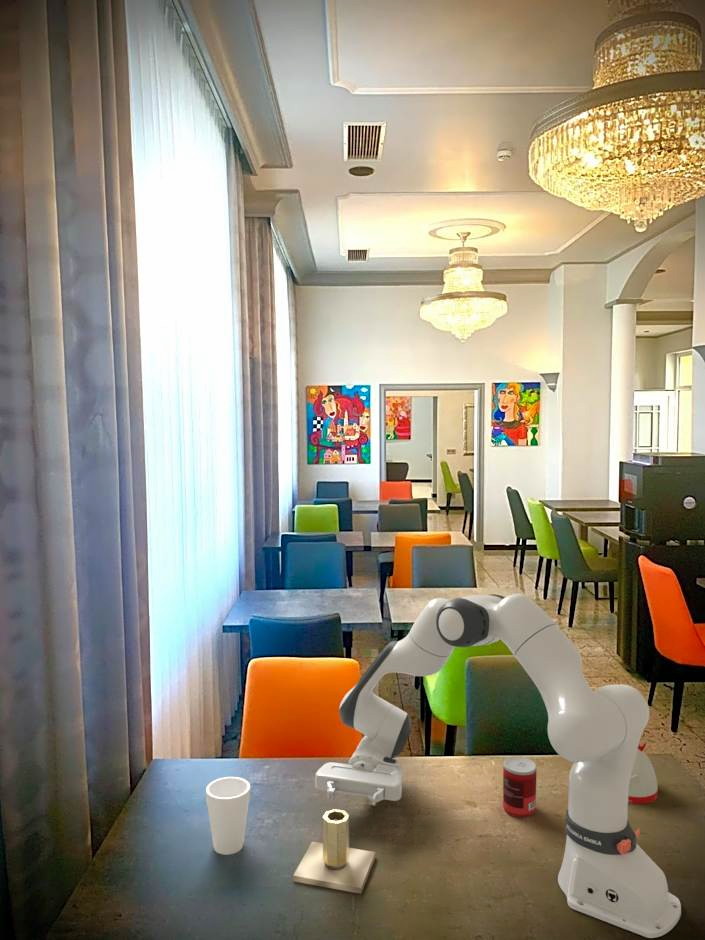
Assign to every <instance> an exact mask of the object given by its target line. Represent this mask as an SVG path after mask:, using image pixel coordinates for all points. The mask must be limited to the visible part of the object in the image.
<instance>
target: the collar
mask: <svg viewBox="0 0 705 940" xmlns="http://www.w3.org/2000/svg"><path fill="white" fill-rule="evenodd" d="M334 819H337V820H338V821H334ZM322 843H323V861H324V862H325V863H326V864H327V865H329V866H335V867H338V866H341V865H344V864H346V863H347V861H348V859H349V848H350V815H349V813H348V812H346V811H345V810H343V809H342V810H341V809H338V808H337V809H336V808H334V809H333V808H332V809H331V810H326V811H325V813H323V816H322Z"/></svg>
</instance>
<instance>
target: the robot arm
mask: <svg viewBox="0 0 705 940" xmlns="http://www.w3.org/2000/svg"><path fill="white" fill-rule="evenodd" d="M500 641H501V642H503V644H505V645H506V646H507V648H508V649H509V651H510V652H511V653H512V654H513V656H514V657H515V659H516V660H517V661H518V663H519V664H520V665H521V666H522V668H523V669H524V670H525V672H526V673H527V675H528V676H529V677H530V678H531V680H532V682H533V683H534V684H535V686H536V688H537V690H538V691H539V694H540V695H541V698H542V700H543V703H544V705H545V709H546V711H547V717H548V722H547V736H548V739H549V742H550V744H551V746H552V748H553V749H554V751H555V753H557V754H558V755H559V757H561V758H562V759H564V760H566V761H568V762H571V763H573V765H572V766H571V769H570V771H569V776H568V795H567V796H568V799H567V801H568V802H567V803H568V804H567V809H566V811H565V819H564V820H565V822H564V825H565V826H564V833H565V837H566V840H565V841H566V842H565V849H564V854H563V860H562V862H561V867H560V870H559V872H558V874H557V875H558V876H557V883H558V885H559V887H560V890H561V891H562V892H563V893H564V895H565V897H566V901H567V902H566V903H567V905H568V907H569V908H571V909H572V910H573V911H574V910H575V911H577V912H580V913H582V914H585V915H587V916H590V917H593V918H595V919H598V920H601V921H602V922H606V923H608V924H611V925H613V926H615V927H618V928H621V929H623V930H626V931H630V932H632V933H633V934H637V935H640V936H642V937H644V938H647V939H654V938H655V939H656V938H659V937H662V936H664V935H666V934H667V933H669V932H670V931H671V930H673V929H674V927H675V926H676V925H677V924H678V922H679V920H680V919H681V916H682V903H681V901H680V899H679V898H678V897H677V896H676V895H674V894H672V893H671V892H669V885H668V881H667V877H666V875H665V873H664V871H663V870H662V869H661V868H660V867H659V865H658V864H656V862H655V861H653V859H651V857H650V856H649V855H648V854H647V853H646V852H645V851H644V850H643V849H642V848H641V847H640V845H639V844H638V843H637V839H638V837H639V836H640V834H641V833H640V831H641V829H640V828H637V829H636V830H635V831H634V830H633V828H632V826H631V824H630V822H629V819H628V810H629V803H628V793H629V783H630V777H631V773H632V769H633V765H634V761H635V757H636V753H637V749H638V745H639V744H640V741H641V738H642V734H643V732H644V730H645V728H646V726H647V725H648V722H649V720H650V708H649V707H650V706H649V704H648V702H647V700H646V699H645V697H644V695H643V694H642V693H641V692H640V691H639V690H638V689H637V688H635V687H633V686H631V685H628V684H623V683H622V684H617V683H615V684H607V685H603V686H601V687H599V688H596V689H594V690H592V688H591V687H590V685H589V684H588V681H587V680H586V677H585V675H584V673H583V668H582V666H583V657H582V655H581V652H580V651H579V650H578V649H577V647H576V646H575V645H574V644H573V643H572V641H571V640H570V639H569V638H568V637H567V635H566V634H565V633H564V632H563V630H561V628H560V627H559V625H557V623H556V622H555V621H554V620H553V619H552V618H551V616H550V615H549V614H548V613H546V611H545V610H543V609H542V607H541V606H539V605H538V604H537V603H536V602H535V601H534V600H532V599H531V598H530V597H529V596H528V595H525V594H523V593H512V594H509V595H507V596H503V595H500V594H494V593H493V594H491V593H490V594H488V595H487V594H472V595H467V596H463V597H455V598H452V599H448V598H443V597H437V598H433V599H431V600H430V601H429V602H428V603H427V604H426V605H425V607H424V608H423V609H422V610H421V612H420V613H419V614H418V616H417V618H416V619H415V621H414V623H413V625H412V626H411V627H410V630H409V632H408V634H407V635H406V636H405V637H403V638H402V639H400V640H398V641H397V640H392V641H390V642H389V643H388V644H387V645H386V646H384V648H383V649H382V650H381V652H380V653H379V654H378V655H377V656H376V657H375V659H374V660H372V662H371V664H370V666H368V668H367V670H365V672H364V673H363V675H362V676H361V677H360V679H359V680H358V681H357V683H356V684H355V685H354V686H353V687H352V688H351V689H350V690H349V691H348V692H346V694H345V695H344V697H343V698H342V700H341V702H340V704H339V709H338V714H339V716H340V719H341V722H342V724H343V725H345V726H347V727H348V728H351V729H353V730H356V731H358V732H360V733H361V734H363V735H364V736H363V737H362V739H361V740H360V742H358V743H359V744H358V745H357V747H356V749H355V751H354V752H353V753H352V756H351V757H350V759H349V760H348V763H341V762H334V761H332V762H331V761H330V762H326V763H324V764H323V765H322V766H320V767H319V769H318V770H317V771H316V773H315V777H314V786H315V788H316V789H317V790H319V791H325V792H326V799H329V800H334V799H335V798H336V793H339V794H347V795H352V796H358V797H364V798H365V797H367V801H368V803H367V805H370V806H376V804H377V803H379V802H380V801H383V800H385V801H386V800H387V801H393V802H398V801H400V800H401V798H402V795H403V794H402V793H403V772H402V763H401V761H400V760H398V759H395V758H396V757H398V756H400V755H401V753H402V752H403V750H404V749H405V745H406V743H407V741H408V739H409V738H410V737H409V736H410V734H411V731H412V728H413V727H412V719H411V717H410V715H409V713H407V712H406V711H404V710H403V709H401V708H399V707H398V706H396V705H394V704H392V703H390V702H388V701H386V700H385V699H384V698H382V697H380V696H378V695H376V694H375V693H374V692H373V690H374V688H375V687H376V686H377V684H378V683H379V682H380V680H381V679H383V677H384V676H385V675H386V674H388V673H398V674H405V675H406V674H407V675H411V676H415V677H428V676H432V675H435V674H437V673H439V672H441V670H442V669H443V668H444V667H445V665H446V664H447V662H448V661H449V660H450V657H451V655H452V654H453V652H454V650H455V648H469V647H476V646H485V645H490V644H494V643H495V642H500ZM639 746H640V745H639Z"/></svg>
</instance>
